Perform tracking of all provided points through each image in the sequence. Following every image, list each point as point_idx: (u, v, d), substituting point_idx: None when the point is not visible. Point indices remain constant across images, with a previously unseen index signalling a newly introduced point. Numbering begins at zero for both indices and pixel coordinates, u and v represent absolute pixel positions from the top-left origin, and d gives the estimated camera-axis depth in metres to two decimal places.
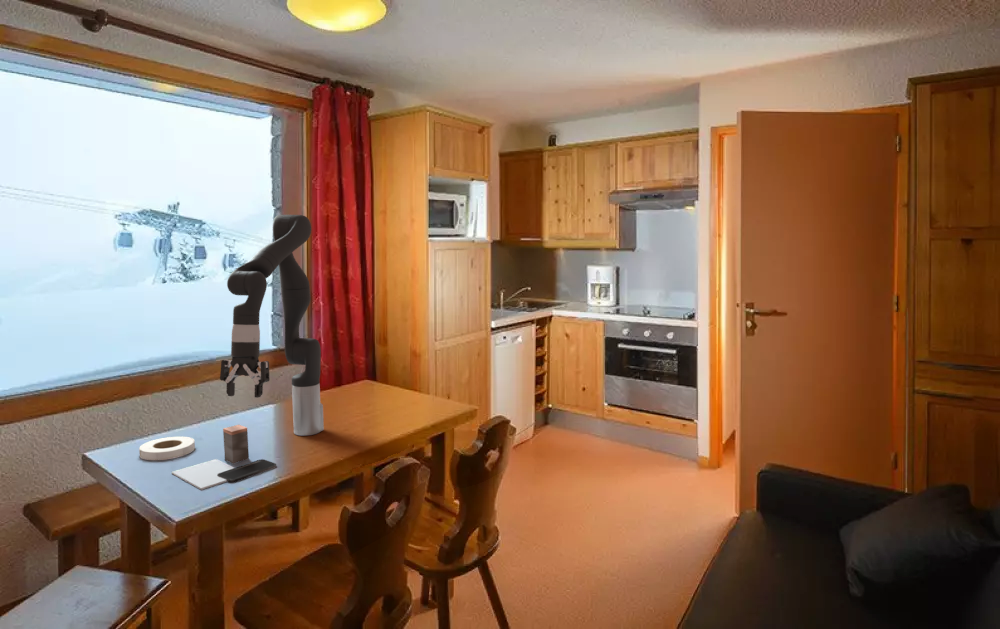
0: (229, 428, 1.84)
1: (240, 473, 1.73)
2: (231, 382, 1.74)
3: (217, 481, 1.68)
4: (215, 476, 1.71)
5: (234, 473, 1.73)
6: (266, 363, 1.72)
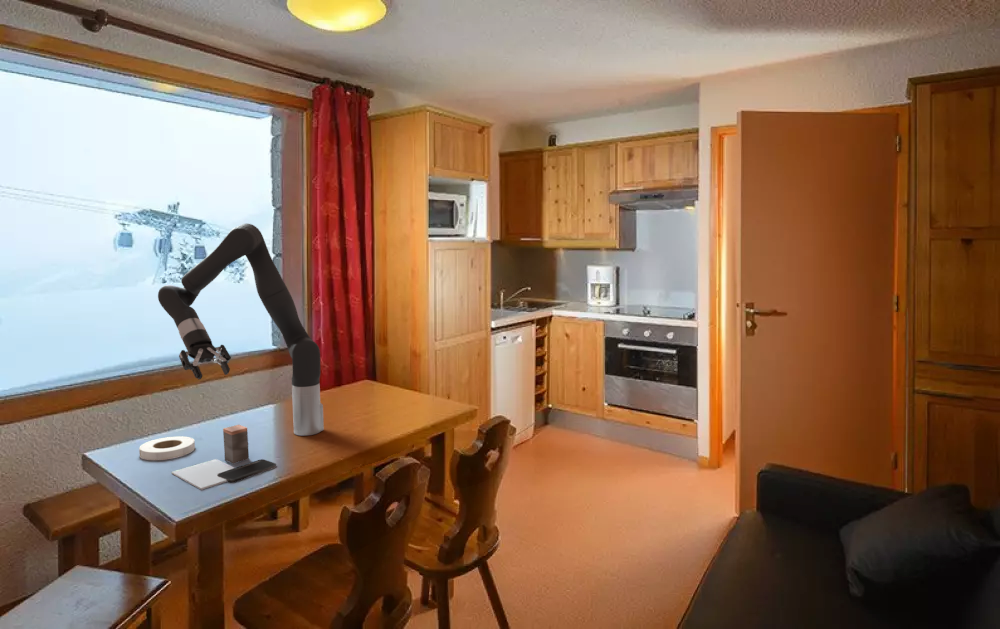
0: (229, 428, 1.84)
1: (240, 473, 1.73)
2: (221, 364, 1.94)
3: (217, 481, 1.68)
4: (215, 476, 1.71)
5: (234, 473, 1.73)
6: (180, 354, 1.87)
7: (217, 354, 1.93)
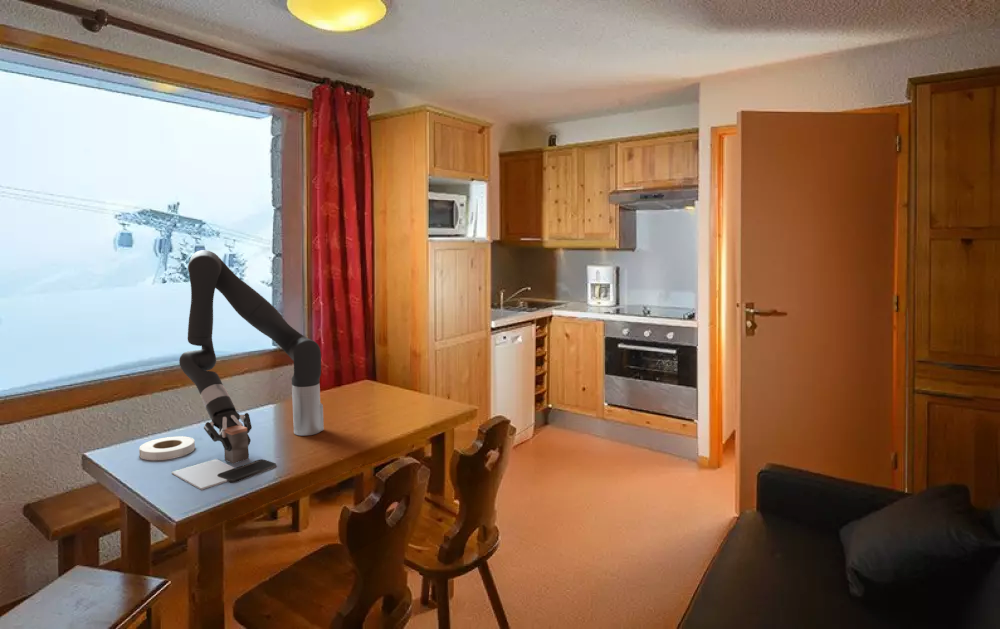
0: (229, 428, 1.84)
1: (241, 473, 1.73)
2: None
3: (217, 481, 1.68)
4: (215, 476, 1.71)
5: (235, 473, 1.73)
6: (205, 426, 1.82)
7: (239, 423, 1.87)
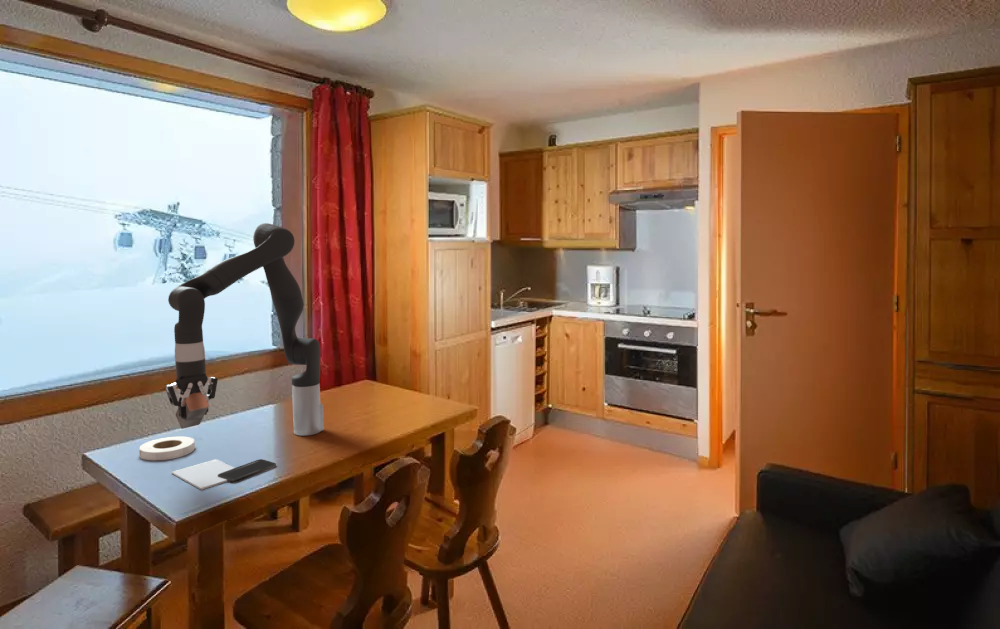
0: (190, 398, 1.69)
1: (241, 473, 1.73)
2: None
3: (217, 481, 1.68)
4: (215, 476, 1.71)
5: (235, 473, 1.73)
6: (166, 388, 1.65)
7: (203, 392, 1.71)
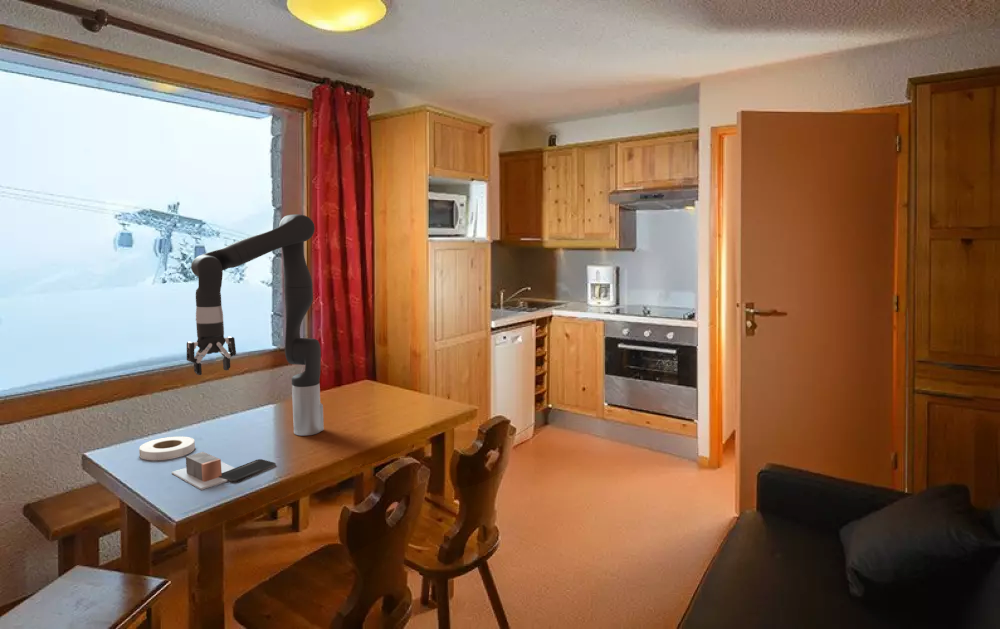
0: (207, 468, 1.68)
1: (241, 473, 1.73)
2: (224, 357, 1.90)
3: (217, 481, 1.68)
4: None
5: (235, 473, 1.73)
6: (188, 344, 1.81)
7: (224, 350, 1.88)
